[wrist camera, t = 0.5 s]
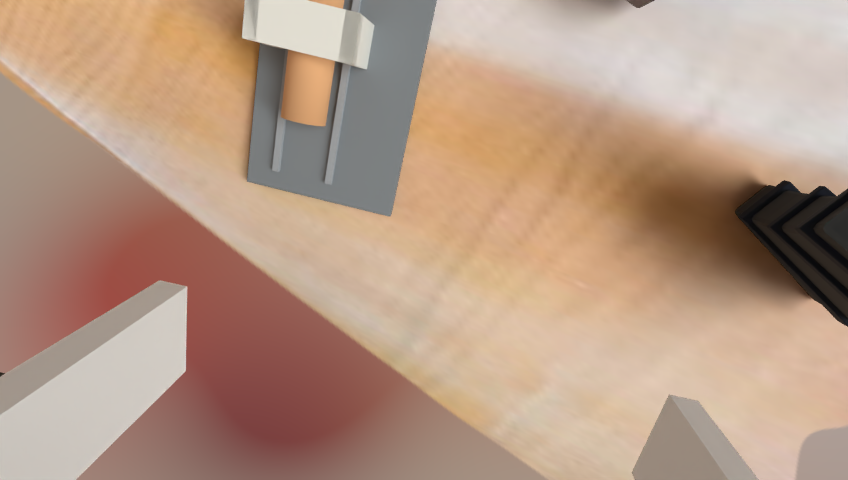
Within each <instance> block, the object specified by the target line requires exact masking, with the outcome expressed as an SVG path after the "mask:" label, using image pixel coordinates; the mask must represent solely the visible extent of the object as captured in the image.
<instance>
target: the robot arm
mask: <svg viewBox="0 0 848 480" xmlns="http://www.w3.org/2000/svg"><path fill="white" fill-rule="evenodd" d="M186 320H187V287H186V286H182V285H178V284H174V283H169V282H165V281H158V282H156V283H155V284H153V285H151V286H150V287H148V288H146V289H144V290H143V291H141V292H140V293H138V294H136V295H135V296H133V297H131V298H130V299H128V300H127V301H125V302H123V303H121V304H120V305H118V306H116V307H115V308H113V309H111V310H110V311H109V312H106V313H105V314H103V315H102V316H100V317H98V318H97V319H95V320H93V321H92V322H90V323H88V324H87V325H85V326H83V327H82V328H80V329H78V330H77V331H75V332H74V333H72V334H70V335H68V336H67V337H65V338H63V339H62V340H60V341H58V342H57V343H55V344H54V345H52V346H50V347H49V348H47V349H45V350H44V351H42V352H40V353H39V354H37V355H35V356H34V357H32V358H30V359H29V360H27V361H25V362H24V363H22V364H21V365H19V366H17V367H16V368H14V369H12V370H11V371H9V372H7V373H6V374H5V373H0V480H76V479H77V478H78V477H79V476H80V475H81V474H82V473H83V472H84V471H85V470H86V469H87V468H88V467H89V466H90V465H91V464H92V463H93V462H94V461H95V460H96V459H97V458H98V457H99V456H100V455H101V454H102V453H103V452H104V451H105V450H106V449H107V448H108V447H109V446H110V445H111V444H112V443H113V442H114V441H115V440H116V439H117V438H118V437H119V436H120V435H121V434H122V433H123V432H124V431H126V430H127V429H128V428H129V427H130V425H132V424H133V423H134V421H136V419H137V418H139V417H140V416H141V415H142V414H143V413H144V412H145V411H146V410H147V409H148V408H149V407H150V406H151V405H152V404H153V403H154V402H155V401H156V400H157V399H158V398H159V397H160V396H161V395H162V394H163V393H164V392H165V391H166V390H167V389H168V388H169V387H170V386H171V385H172V384H173V383H174V382H175V381H176V380H177V379H178V378H179V377H180V376H181V375H182V374H183V373H184V372H185V371H186V322H187V321H186ZM632 474H633V476H634V479H635V480H759V479H758V478H757V477H756V475H755V474H754V473H753V472H752V470H751V469H750V468H749V466H748V465H747V464H746V463H745V461H744V460H743V459H742V457H741V456H740V455H739V453H738V452H737V451H736V450H735V448H734V447H733V446H732V444H731V443H730V442H729V441H728V439H727V438H726V437H725V435H724V434H723V433H722V431H721V430H720V429H719V428H718V426H717V425H716V424H715V422H714V421H713V420H712V419H711V417H710V416H709V415H708V413H707V412H706V411H705V409H704V408H703V407H702V406H701V404H700V403H699V402H698V401H696V400H691V399H687V398H683V397H678V396H674V395H669V396H668V398H667V400H666V402H665V404H664V406H663V408H662V411H661V413H660V415H659V417H658V419H657V421H656V423H655V425H654V427H653V429H652V431H651V433H650V436H649V438H648V440H647V442H646V444H645V446H644V448H643V450H642V452H641V454H640V456H639V458H638V460H637V463H636V465H635V467H634V469H633V471H632Z"/></svg>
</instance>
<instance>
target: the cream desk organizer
mask: <svg viewBox="0 0 848 480" xmlns="http://www.w3.org/2000/svg"><path fill="white" fill-rule="evenodd" d="M373 31H374V24H372V23H371V22H370V21H369V20H368V19H367V18H365V17H364V16H363V15H362V14H361V13H358V12H354V11H350V10H345V9H341V8H337V7H333V6H329V5H325V4H321V3H317V2H312V1H308V0H245V5H244V17H243V30H242V38H243V39H247V40H251V41H254V42H258V43H261V44H265V45H268V46H272V47H276V48H280V49H288V50H292V51H296V52H300V53H304V54H308V55H312V56H317V57H321V58H325V59H329V60H333V61H337V62H341V63H345V64H348V65H351V66H354V67H358V68H362V69H366V70H367V66H368V60H369V54H370V49H371V43H372V37H373Z"/></svg>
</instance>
